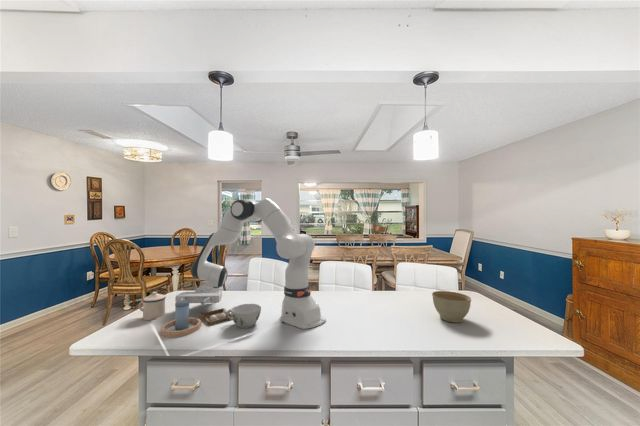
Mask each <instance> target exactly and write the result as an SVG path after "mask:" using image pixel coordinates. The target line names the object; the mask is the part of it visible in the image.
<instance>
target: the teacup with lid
mask: <svg viewBox="0 0 640 426" xmlns="http://www.w3.org/2000/svg"><path fill="white" fill-rule="evenodd" d="M166 297H167V296H166V295H165V294H162V293H158V291H153V292H151V294H150V295H148V296H145V297H144V298H143V299H142V301H140V302H139V303H138V309H139V310H140V312H142V319H143V320H144V321H153V320H154V321H155V320H157V319H158V318H161V317H163V316H165V314H166V312H165V311H166Z"/></svg>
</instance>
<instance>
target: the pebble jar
mask: <svg viewBox="0 0 640 426" xmlns="http://www.w3.org/2000/svg"><path fill="white" fill-rule="evenodd" d="M174 306H175V307H174V309H175V310H174V311H175V313H174V315H175V316H174V320H175V325H174V331H179V330H184V329H188V328H190V327H189V326H190V325H189V324H190V323H189V318H190V303H189V301H188V300H183V301H178V302H175V303H174Z"/></svg>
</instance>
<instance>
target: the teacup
mask: <svg viewBox="0 0 640 426" xmlns="http://www.w3.org/2000/svg"><path fill="white" fill-rule="evenodd" d="M261 310H262V306H261V305H259V304H256V303H244V304H239V305H237V306H233V307H231V309H228V310H227V311H228V312H227V316H228V318H229V319H230V320H229V321H233V323H234V324H235V326H237V328H241V329H247V328H251V327H253V326H254V325H256V323H257V322H258V320H259V318H260V315H261ZM229 313H231V315H232V318H231V317H230V316H229Z"/></svg>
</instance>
